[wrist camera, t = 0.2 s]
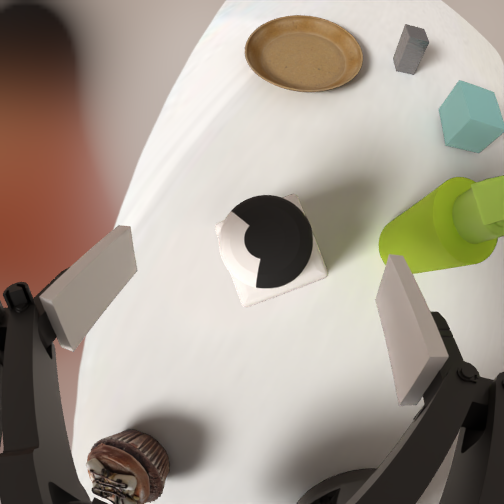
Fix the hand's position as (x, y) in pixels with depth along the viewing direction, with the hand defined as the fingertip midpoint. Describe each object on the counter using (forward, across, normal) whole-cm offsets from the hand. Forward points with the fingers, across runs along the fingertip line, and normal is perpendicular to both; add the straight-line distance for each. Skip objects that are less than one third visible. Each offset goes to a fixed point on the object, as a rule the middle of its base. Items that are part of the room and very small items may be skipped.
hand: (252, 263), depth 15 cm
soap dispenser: (+15, -13, +6) cm, 21 cm away
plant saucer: (+29, -2, -13) cm, 32 cm away
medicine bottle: (+14, 0, +8) cm, 16 cm away
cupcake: (-1, +13, +30) cm, 32 cm away
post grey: (+29, -15, -15) cm, 37 cm away
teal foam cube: (+23, -22, -8) cm, 33 cm away
